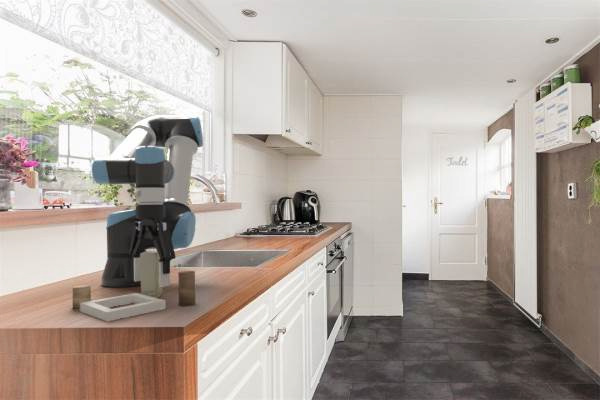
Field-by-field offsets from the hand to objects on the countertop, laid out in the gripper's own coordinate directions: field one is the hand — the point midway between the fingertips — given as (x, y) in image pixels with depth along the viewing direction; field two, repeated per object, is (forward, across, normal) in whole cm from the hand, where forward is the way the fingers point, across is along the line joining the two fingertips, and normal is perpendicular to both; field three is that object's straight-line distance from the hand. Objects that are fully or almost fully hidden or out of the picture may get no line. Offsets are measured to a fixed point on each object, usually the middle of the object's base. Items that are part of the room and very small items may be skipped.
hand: (151, 283), depth 117 cm
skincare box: (+4, 0, 0) cm, 4 cm away
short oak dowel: (+4, -3, -17) cm, 18 cm away
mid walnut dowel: (+4, +15, +1) cm, 15 cm away
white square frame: (+4, +8, -12) cm, 15 cm away
